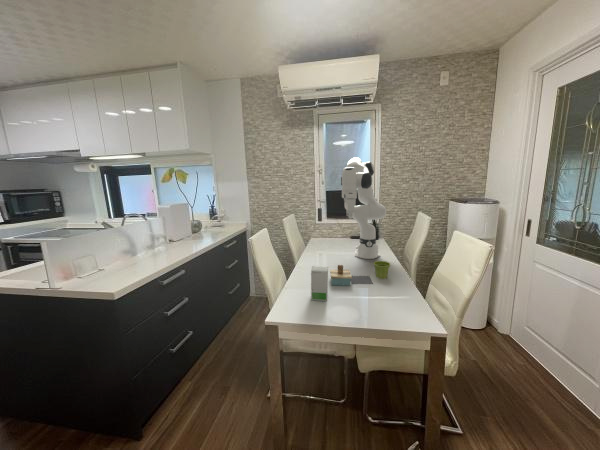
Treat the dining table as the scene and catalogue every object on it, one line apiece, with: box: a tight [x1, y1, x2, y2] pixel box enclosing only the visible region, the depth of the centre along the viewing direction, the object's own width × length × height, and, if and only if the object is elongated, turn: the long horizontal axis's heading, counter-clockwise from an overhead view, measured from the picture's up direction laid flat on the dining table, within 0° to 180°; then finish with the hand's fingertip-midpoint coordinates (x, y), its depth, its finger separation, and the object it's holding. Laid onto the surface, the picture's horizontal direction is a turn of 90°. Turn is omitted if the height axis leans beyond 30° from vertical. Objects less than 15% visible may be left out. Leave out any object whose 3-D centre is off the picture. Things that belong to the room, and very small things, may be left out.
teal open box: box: [330, 278, 351, 287], centre depth 143 cm, size 10×10×5 cm
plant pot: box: [373, 260, 391, 279], centre depth 148 cm, size 9×9×9 cm
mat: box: [350, 275, 374, 285], centre depth 145 cm, size 12×12×1 cm
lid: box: [329, 264, 353, 280], centre depth 142 cm, size 11×11×5 cm
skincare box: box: [310, 265, 329, 302], centre depth 125 cm, size 8×7×16 cm
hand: (349, 217), depth 153 cm, fingers open, 8 cm apart
